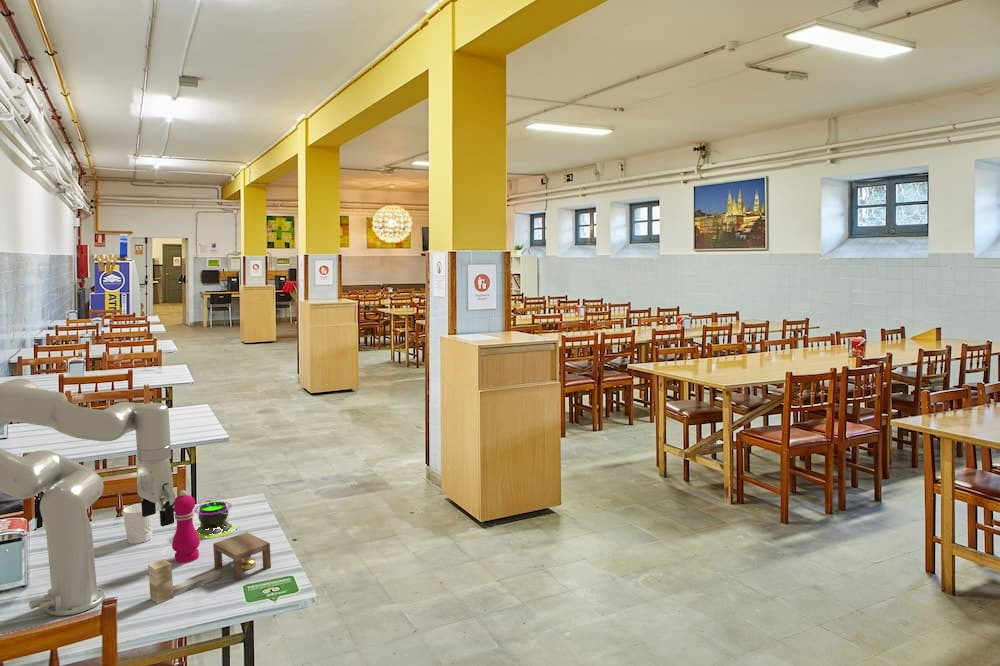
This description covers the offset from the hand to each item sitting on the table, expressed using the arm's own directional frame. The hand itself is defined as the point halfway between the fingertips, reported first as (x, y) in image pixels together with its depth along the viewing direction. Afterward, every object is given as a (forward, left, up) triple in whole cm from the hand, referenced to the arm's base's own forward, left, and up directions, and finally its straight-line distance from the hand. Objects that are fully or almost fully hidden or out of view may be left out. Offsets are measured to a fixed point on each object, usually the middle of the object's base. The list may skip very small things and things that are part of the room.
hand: (158, 519), depth 174 cm
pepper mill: (+15, +18, -21) cm, 31 cm away
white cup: (+12, +42, -21) cm, 48 cm away
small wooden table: (+22, 0, -20) cm, 30 cm away
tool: (+6, 0, -20) cm, 21 cm away
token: (+23, 0, -21) cm, 30 cm away
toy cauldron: (+30, +32, -21) cm, 48 cm away
